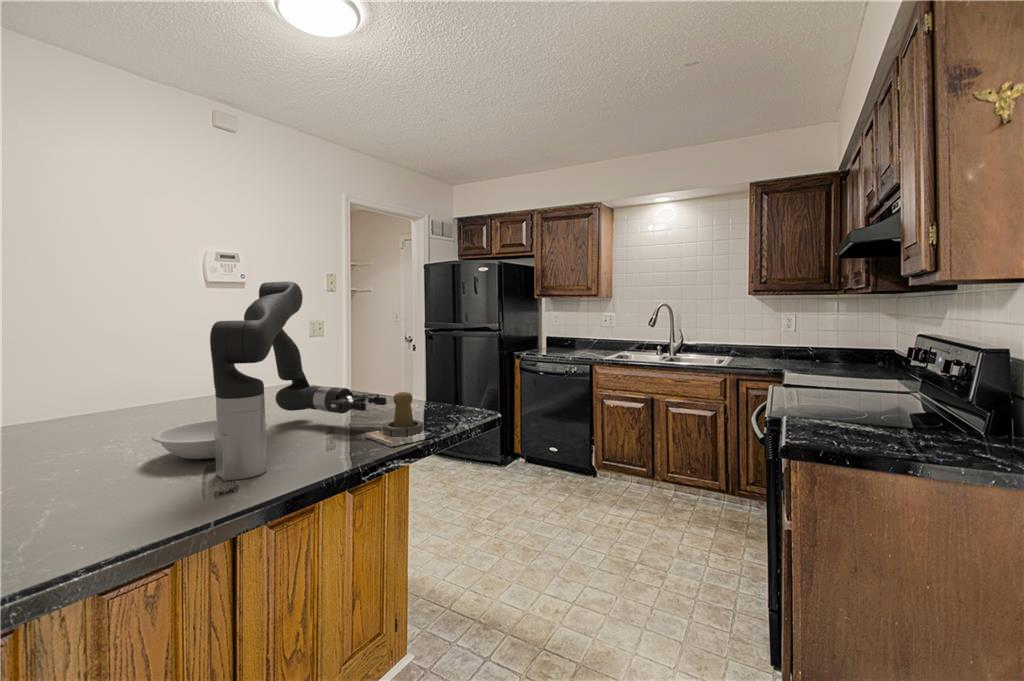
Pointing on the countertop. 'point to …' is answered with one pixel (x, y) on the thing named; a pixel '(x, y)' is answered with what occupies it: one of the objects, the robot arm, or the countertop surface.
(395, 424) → the cork
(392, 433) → the socket board
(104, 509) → the countertop surface
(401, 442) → the countertop surface
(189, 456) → the soup bowl
